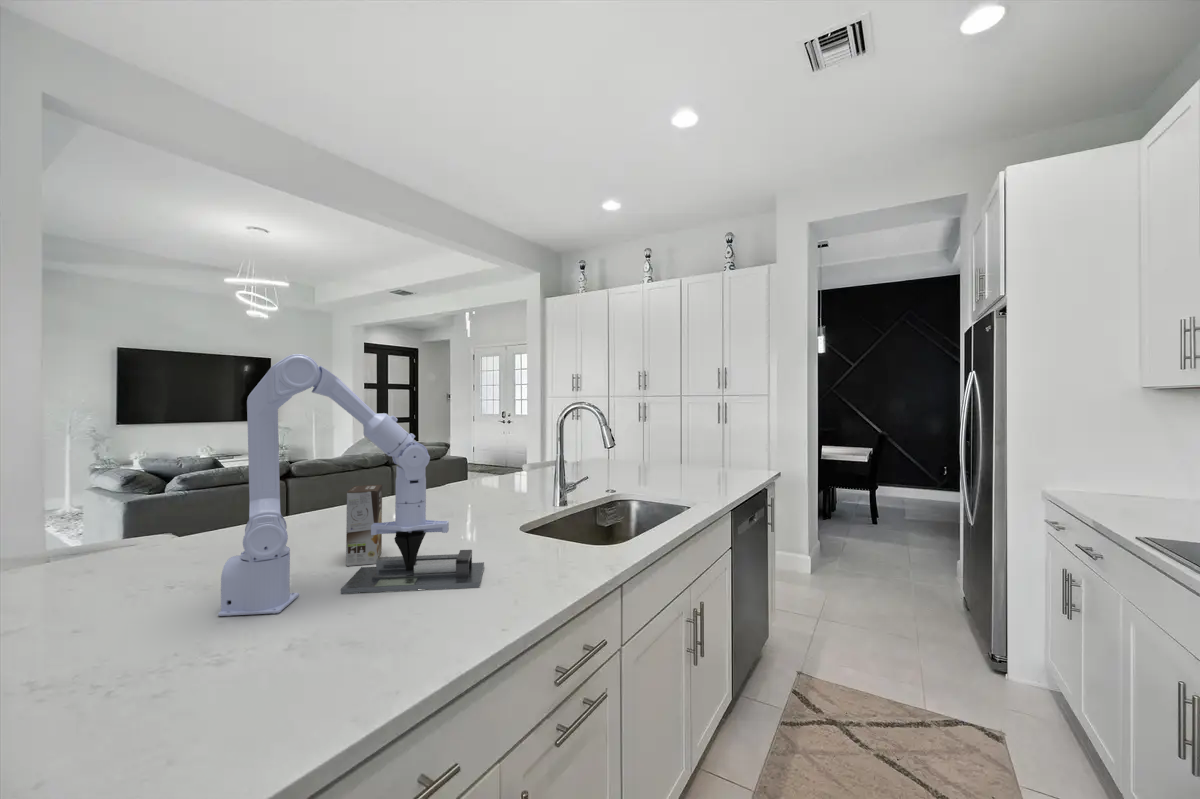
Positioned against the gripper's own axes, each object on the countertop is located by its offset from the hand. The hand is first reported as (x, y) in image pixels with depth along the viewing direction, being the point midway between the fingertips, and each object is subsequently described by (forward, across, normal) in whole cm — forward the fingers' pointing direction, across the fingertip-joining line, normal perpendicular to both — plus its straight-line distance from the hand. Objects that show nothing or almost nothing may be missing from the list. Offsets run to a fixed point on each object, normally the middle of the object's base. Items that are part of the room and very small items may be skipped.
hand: (410, 569), depth 102 cm
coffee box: (+2, -13, +15) cm, 20 cm away
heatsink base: (+2, +2, 0) cm, 3 cm away
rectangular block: (+1, +6, 0) cm, 6 cm away
